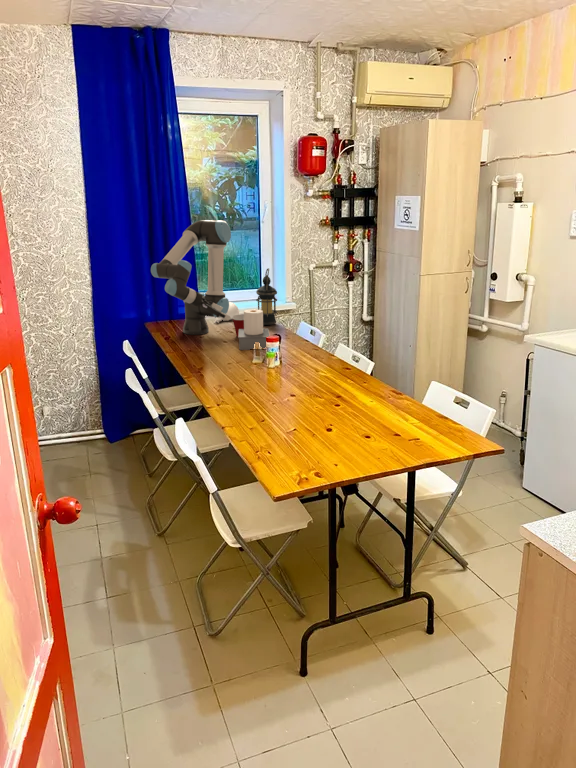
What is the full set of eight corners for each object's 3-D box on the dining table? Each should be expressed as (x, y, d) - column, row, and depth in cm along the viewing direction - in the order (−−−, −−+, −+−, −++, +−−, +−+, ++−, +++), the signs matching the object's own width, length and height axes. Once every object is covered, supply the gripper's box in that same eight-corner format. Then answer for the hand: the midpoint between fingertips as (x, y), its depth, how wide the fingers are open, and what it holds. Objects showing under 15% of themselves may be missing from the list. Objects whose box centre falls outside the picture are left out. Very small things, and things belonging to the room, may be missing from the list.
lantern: (255, 322, 382) (255, 266, 371) (276, 321, 383) (276, 266, 372) (257, 327, 369) (256, 270, 357) (278, 326, 370) (278, 269, 359)
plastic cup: (228, 337, 344) (228, 317, 340) (237, 333, 353) (236, 313, 350) (245, 339, 340) (245, 318, 336) (253, 335, 350) (253, 315, 346)
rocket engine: (213, 309, 373) (230, 298, 385) (205, 318, 381) (221, 308, 394) (225, 323, 373) (242, 312, 386) (216, 332, 381) (233, 321, 394)
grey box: (238, 341, 337) (238, 329, 334) (268, 340, 338) (268, 328, 335) (238, 349, 319) (238, 337, 317) (269, 349, 320) (269, 336, 318)
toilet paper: (256, 336, 319) (255, 313, 315) (240, 333, 325) (240, 311, 321) (266, 332, 327) (266, 310, 324) (251, 329, 333) (251, 308, 329)
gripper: (183, 295, 326) (215, 311, 338) (195, 312, 306) (228, 328, 318) (190, 283, 324) (221, 300, 336) (202, 299, 304) (236, 316, 316)
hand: (225, 314), depth 327 cm, fingers open, 13 cm apart
